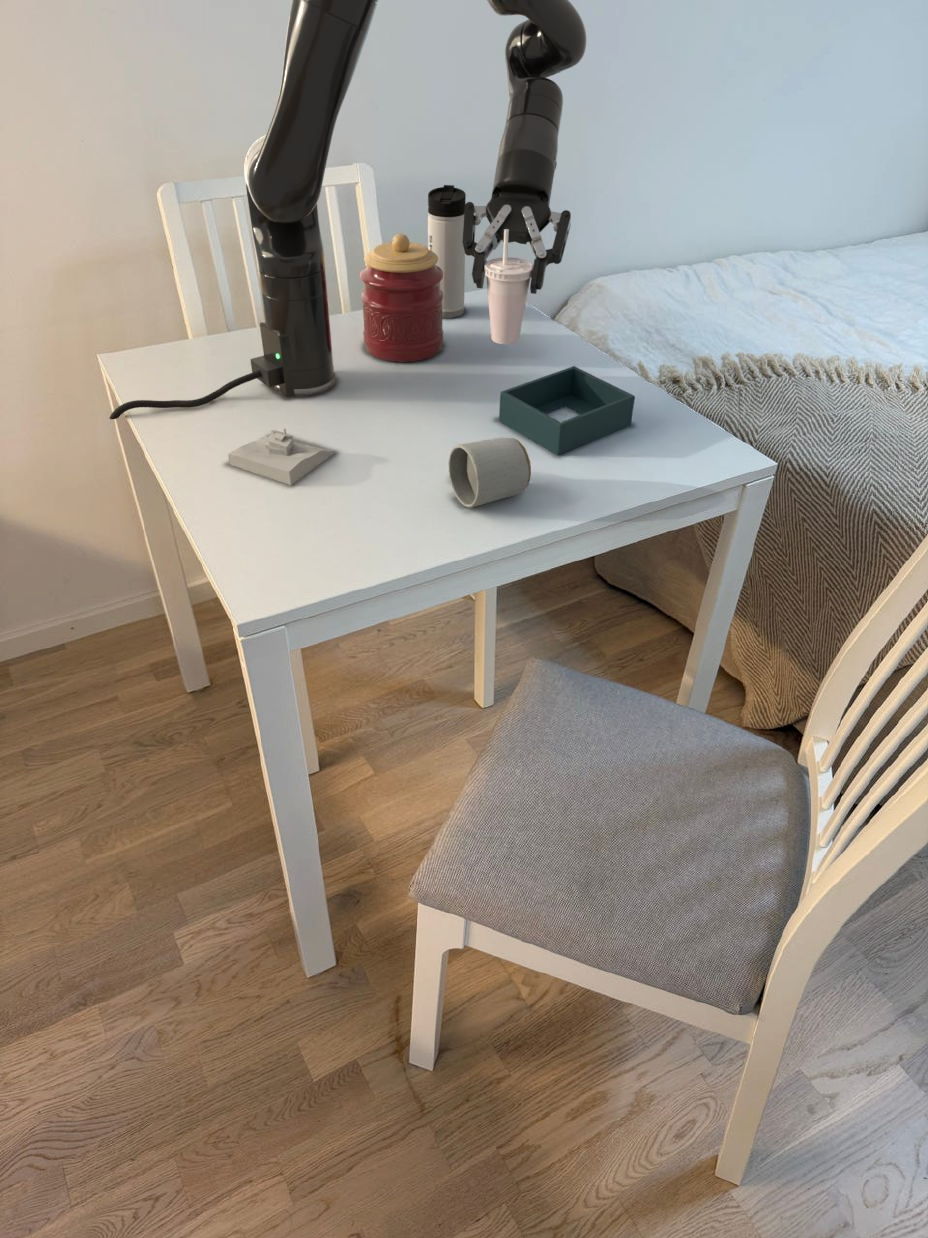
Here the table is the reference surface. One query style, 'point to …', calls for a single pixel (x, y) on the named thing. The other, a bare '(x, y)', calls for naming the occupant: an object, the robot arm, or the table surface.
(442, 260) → the travel mug
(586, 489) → the table surface
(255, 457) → the miniature house
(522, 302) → the smoothie
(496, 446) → the ceramic mug
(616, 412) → the bin
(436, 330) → the kitchen canister
